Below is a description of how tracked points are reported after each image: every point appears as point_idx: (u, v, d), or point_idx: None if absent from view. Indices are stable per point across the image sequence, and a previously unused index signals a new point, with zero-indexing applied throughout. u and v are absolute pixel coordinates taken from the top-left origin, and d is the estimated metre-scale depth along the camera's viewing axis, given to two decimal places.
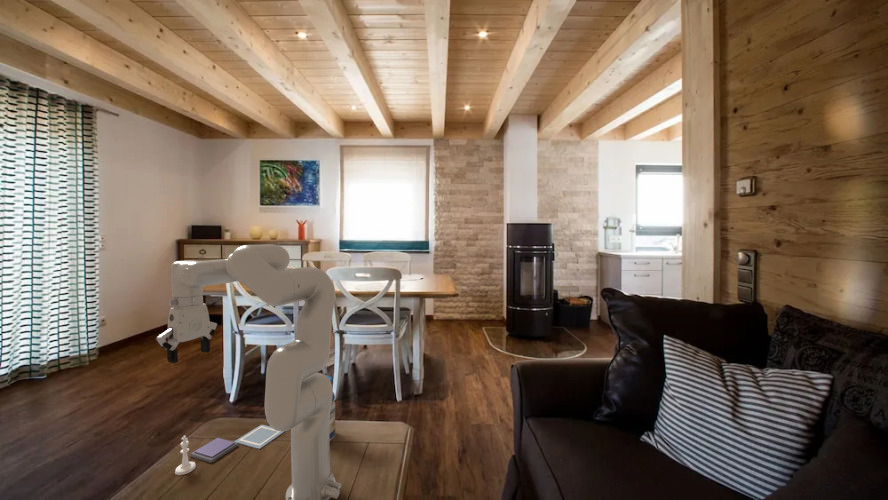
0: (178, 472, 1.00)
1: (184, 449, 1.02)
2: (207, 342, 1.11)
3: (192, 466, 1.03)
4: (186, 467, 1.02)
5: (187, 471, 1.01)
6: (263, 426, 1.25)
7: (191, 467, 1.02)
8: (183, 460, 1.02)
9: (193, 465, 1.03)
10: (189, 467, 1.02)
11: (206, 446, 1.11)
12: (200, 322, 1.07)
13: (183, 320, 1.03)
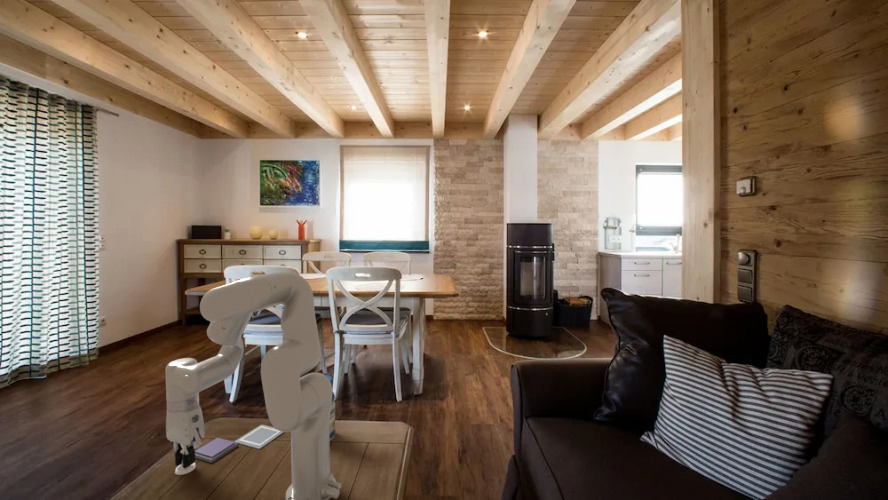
0: (178, 472, 1.00)
1: None
2: None
3: (192, 466, 1.03)
4: (186, 467, 1.02)
5: (187, 471, 1.01)
6: (263, 426, 1.25)
7: (191, 467, 1.02)
8: None
9: (193, 465, 1.03)
10: (189, 467, 1.02)
11: (206, 446, 1.11)
12: None
13: None
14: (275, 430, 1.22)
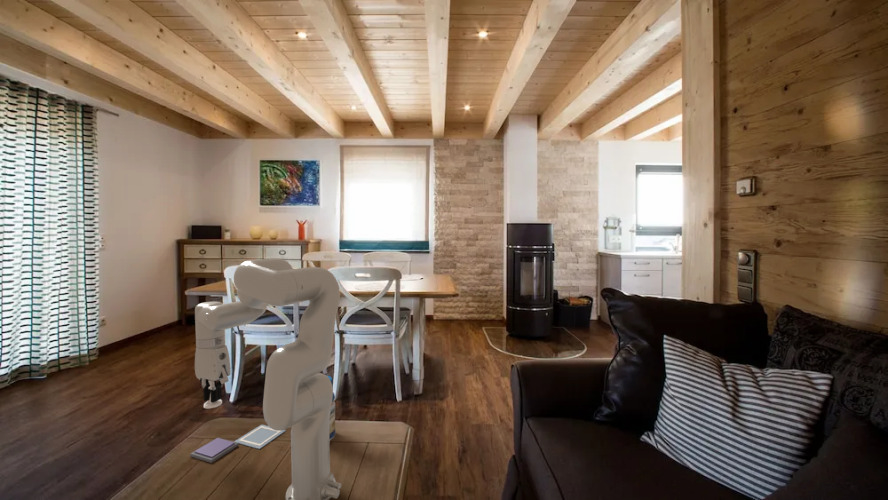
0: (207, 406, 1.08)
1: None
2: None
3: (219, 402, 1.10)
4: (214, 402, 1.09)
5: (215, 405, 1.08)
6: (263, 426, 1.25)
7: (218, 402, 1.10)
8: None
9: (220, 401, 1.10)
10: (216, 402, 1.09)
11: (206, 446, 1.11)
12: None
13: None
14: (275, 430, 1.22)
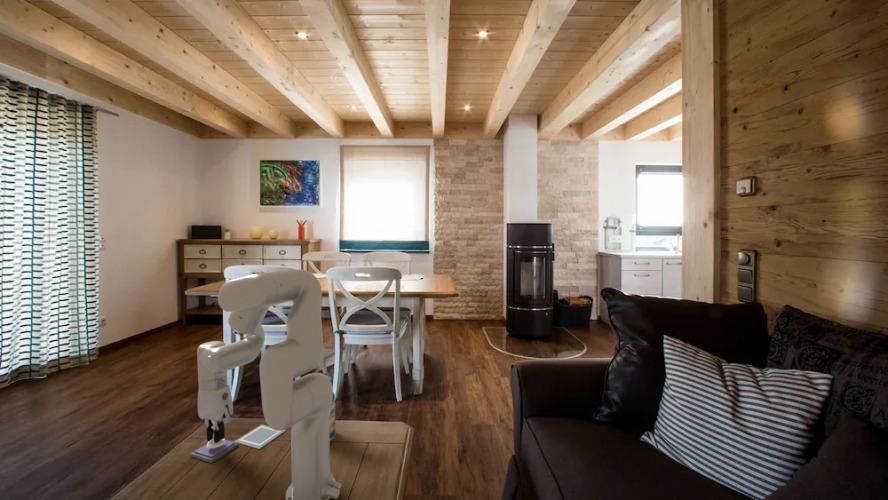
0: (210, 446, 1.08)
1: None
2: None
3: (222, 441, 1.11)
4: None
5: (218, 445, 1.09)
6: (263, 426, 1.25)
7: (221, 442, 1.10)
8: None
9: (223, 440, 1.11)
10: (219, 442, 1.10)
11: (206, 446, 1.11)
12: None
13: None
14: (275, 430, 1.22)
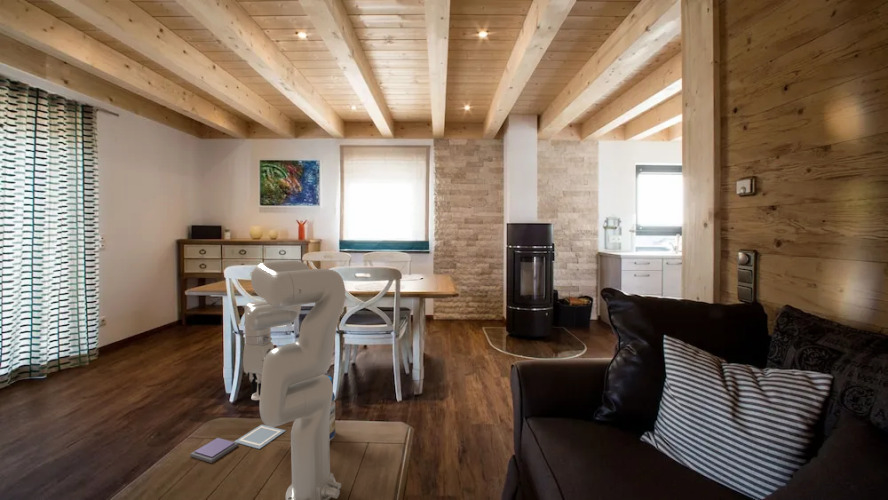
0: (255, 397, 1.16)
1: None
2: None
3: None
4: None
5: None
6: (263, 426, 1.25)
7: None
8: None
9: None
10: None
11: (206, 446, 1.11)
12: None
13: None
14: (275, 430, 1.22)
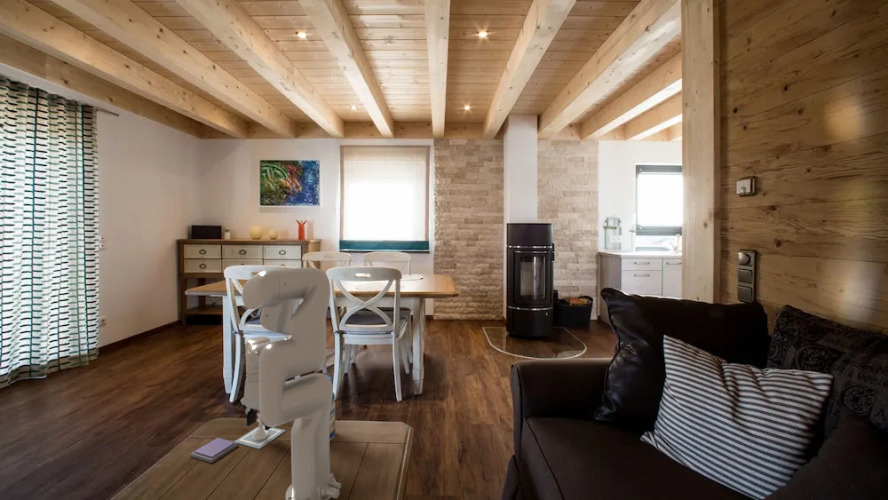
0: (256, 437, 1.17)
1: (260, 418, 1.18)
2: (255, 412, 1.21)
3: (266, 433, 1.19)
4: (262, 434, 1.18)
5: (263, 437, 1.17)
6: (263, 426, 1.25)
7: (266, 434, 1.18)
8: (259, 428, 1.18)
9: (267, 432, 1.19)
10: (264, 434, 1.18)
11: (206, 446, 1.11)
12: None
13: None
14: (275, 430, 1.22)
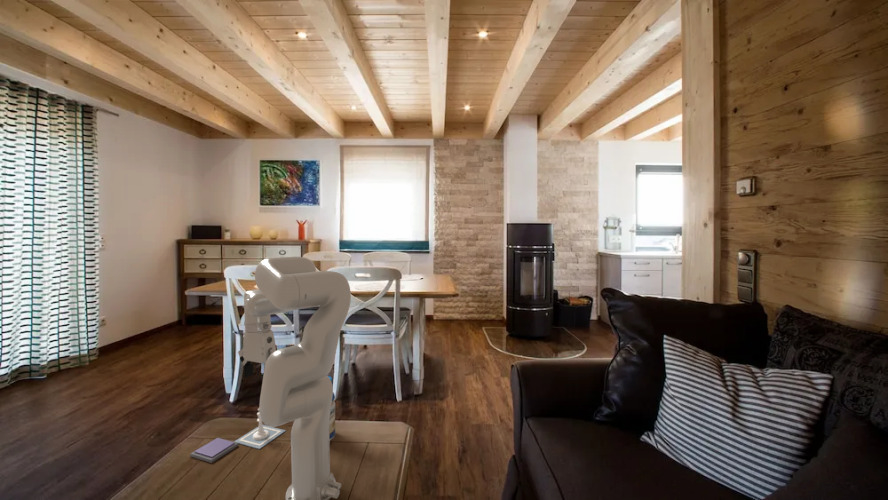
0: (256, 437, 1.17)
1: (260, 418, 1.18)
2: (252, 365, 1.19)
3: (266, 433, 1.19)
4: (262, 434, 1.18)
5: (263, 437, 1.17)
6: (263, 426, 1.25)
7: (266, 434, 1.18)
8: (259, 428, 1.18)
9: (267, 432, 1.19)
10: (264, 434, 1.18)
11: (206, 446, 1.11)
12: None
13: None
14: (275, 430, 1.22)
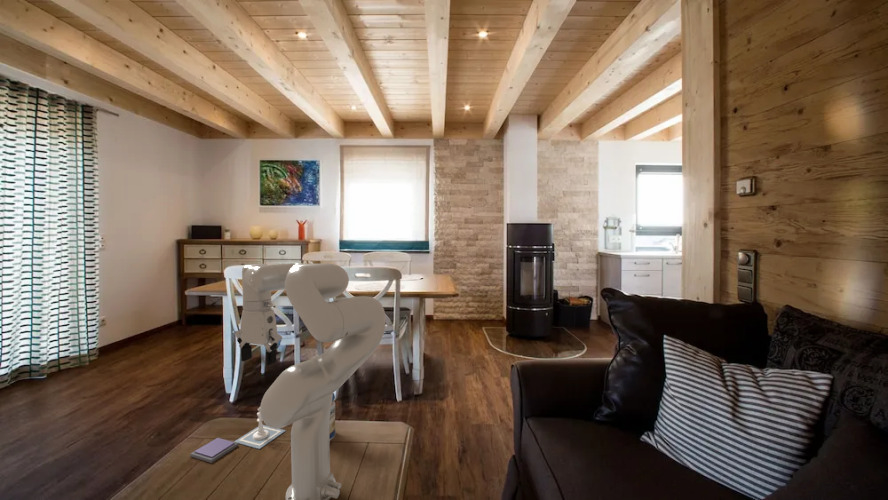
0: (256, 437, 1.17)
1: (260, 418, 1.18)
2: (251, 347, 1.08)
3: (266, 433, 1.19)
4: (262, 434, 1.18)
5: (263, 437, 1.17)
6: (263, 426, 1.25)
7: (266, 434, 1.18)
8: (259, 428, 1.18)
9: (267, 432, 1.19)
10: (264, 434, 1.18)
11: (206, 446, 1.11)
12: None
13: None
14: (275, 430, 1.22)
